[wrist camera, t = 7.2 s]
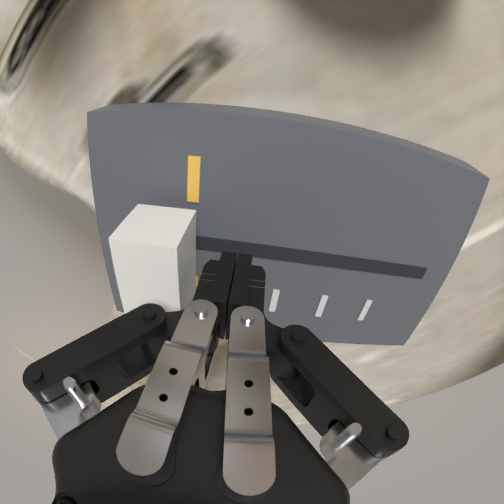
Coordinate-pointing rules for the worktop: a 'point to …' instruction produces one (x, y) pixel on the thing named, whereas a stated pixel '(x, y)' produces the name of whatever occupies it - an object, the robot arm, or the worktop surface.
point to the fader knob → (155, 257)
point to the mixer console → (294, 208)
